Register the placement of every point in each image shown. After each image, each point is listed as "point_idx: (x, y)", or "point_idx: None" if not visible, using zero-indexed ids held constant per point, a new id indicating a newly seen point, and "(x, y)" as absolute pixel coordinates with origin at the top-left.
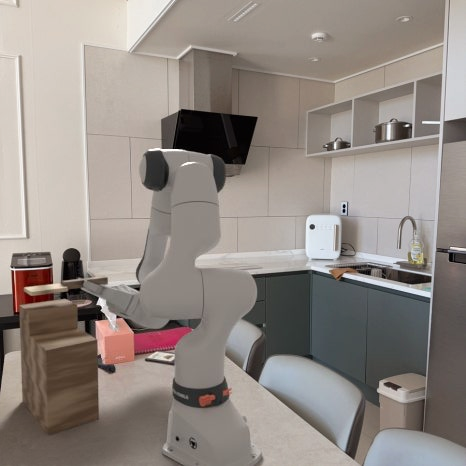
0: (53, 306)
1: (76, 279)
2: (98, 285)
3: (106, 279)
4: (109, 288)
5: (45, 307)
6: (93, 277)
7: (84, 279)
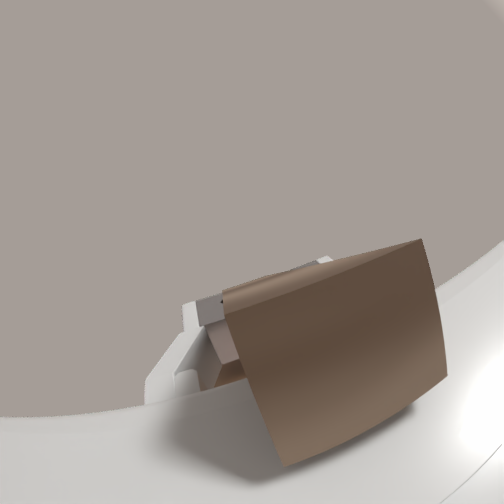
0: (235, 374)
1: (276, 274)
2: (148, 381)
3: (243, 356)
4: (16, 421)
5: (236, 365)
6: (320, 264)
7: (246, 285)
